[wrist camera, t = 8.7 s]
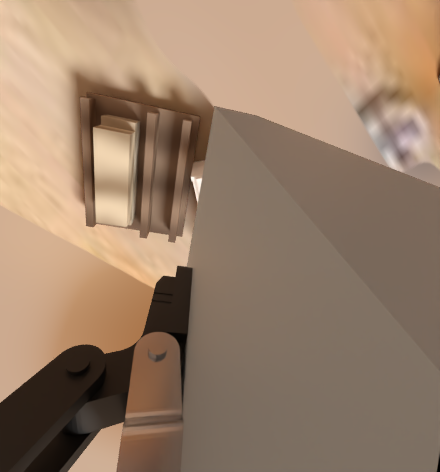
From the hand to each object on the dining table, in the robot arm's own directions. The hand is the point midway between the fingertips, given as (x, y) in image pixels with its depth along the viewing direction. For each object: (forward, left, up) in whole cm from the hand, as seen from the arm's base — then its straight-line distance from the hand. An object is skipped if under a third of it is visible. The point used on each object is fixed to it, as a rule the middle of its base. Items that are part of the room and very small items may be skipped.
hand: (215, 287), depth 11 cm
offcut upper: (+4, -12, -25) cm, 28 cm away
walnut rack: (+4, -9, -29) cm, 31 cm away
